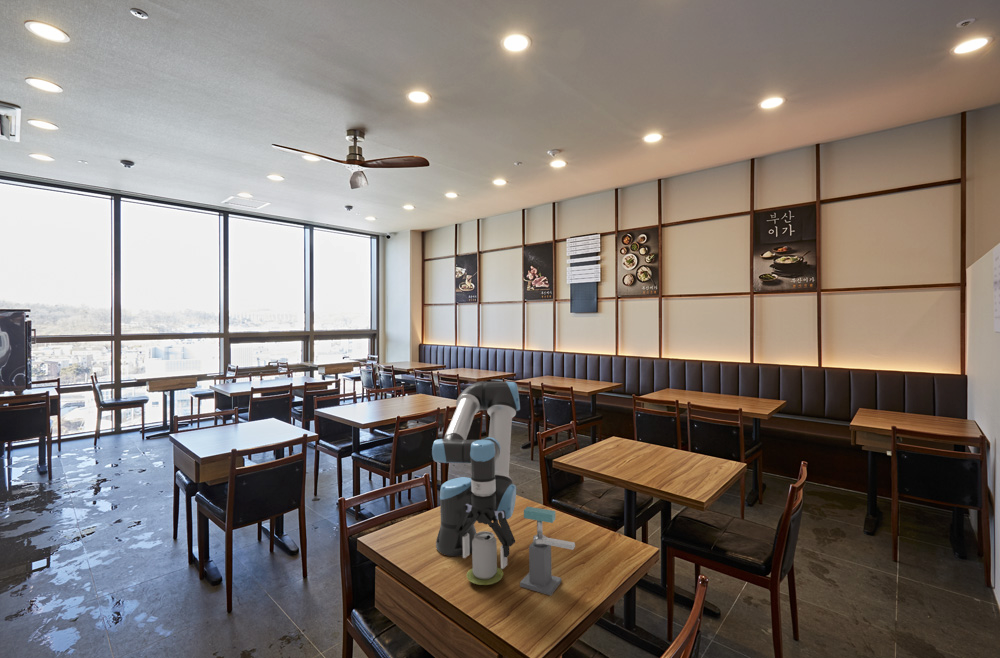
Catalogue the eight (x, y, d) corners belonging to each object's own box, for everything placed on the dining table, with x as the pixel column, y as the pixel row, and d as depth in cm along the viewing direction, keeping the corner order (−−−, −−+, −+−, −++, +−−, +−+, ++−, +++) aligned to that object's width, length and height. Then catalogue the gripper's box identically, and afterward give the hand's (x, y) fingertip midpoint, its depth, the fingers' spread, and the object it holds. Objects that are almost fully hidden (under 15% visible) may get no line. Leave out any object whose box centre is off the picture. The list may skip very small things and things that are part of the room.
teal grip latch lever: (572, 553, 129) (571, 518, 129) (523, 543, 135) (523, 510, 135) (575, 546, 133) (575, 513, 133) (528, 537, 139) (527, 505, 139)
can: (494, 582, 134) (493, 541, 134) (469, 579, 135) (469, 539, 135) (499, 568, 141) (498, 530, 141) (476, 566, 142) (475, 528, 142)
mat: (508, 587, 134) (507, 580, 134) (471, 594, 131) (471, 587, 131) (497, 568, 145) (497, 561, 145) (463, 574, 142) (463, 567, 142)
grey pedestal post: (519, 586, 134) (519, 546, 134) (531, 573, 141) (530, 535, 141) (550, 595, 129) (550, 554, 129) (561, 581, 136) (560, 542, 136)
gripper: (443, 489, 141) (444, 557, 141) (513, 503, 129) (515, 577, 129) (457, 482, 147) (458, 546, 147) (525, 494, 135) (526, 565, 135)
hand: (484, 561), depth 138 cm, fingers open, 13 cm apart
